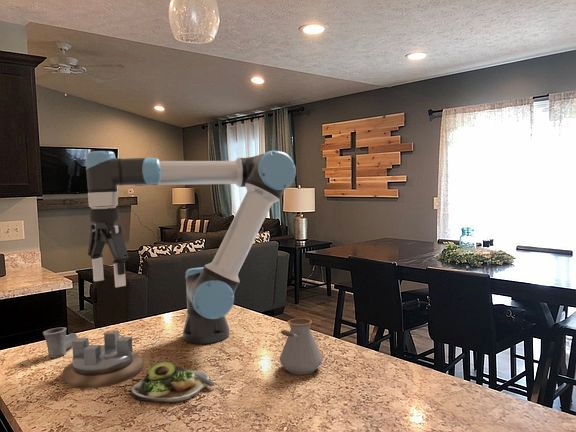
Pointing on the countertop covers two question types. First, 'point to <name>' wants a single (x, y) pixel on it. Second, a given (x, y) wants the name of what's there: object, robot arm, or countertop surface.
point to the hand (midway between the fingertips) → (109, 283)
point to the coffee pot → (300, 348)
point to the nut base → (102, 375)
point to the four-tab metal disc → (102, 354)
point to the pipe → (58, 341)
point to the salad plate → (170, 383)
